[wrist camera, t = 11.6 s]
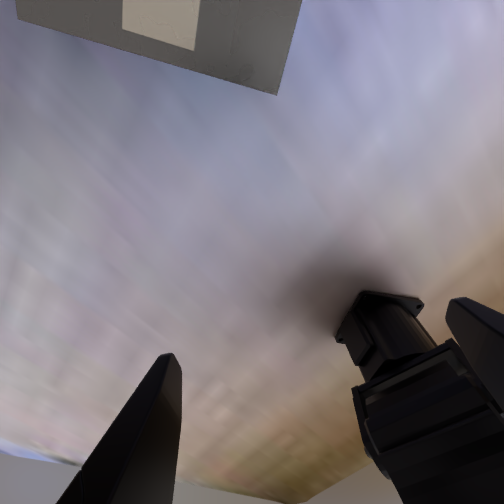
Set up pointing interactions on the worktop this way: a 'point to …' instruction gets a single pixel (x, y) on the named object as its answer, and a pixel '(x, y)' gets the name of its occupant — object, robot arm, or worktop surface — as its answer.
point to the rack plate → (184, 32)
